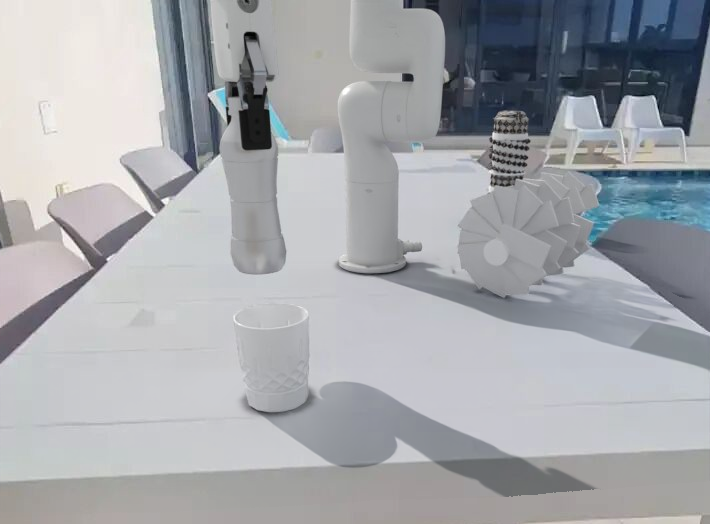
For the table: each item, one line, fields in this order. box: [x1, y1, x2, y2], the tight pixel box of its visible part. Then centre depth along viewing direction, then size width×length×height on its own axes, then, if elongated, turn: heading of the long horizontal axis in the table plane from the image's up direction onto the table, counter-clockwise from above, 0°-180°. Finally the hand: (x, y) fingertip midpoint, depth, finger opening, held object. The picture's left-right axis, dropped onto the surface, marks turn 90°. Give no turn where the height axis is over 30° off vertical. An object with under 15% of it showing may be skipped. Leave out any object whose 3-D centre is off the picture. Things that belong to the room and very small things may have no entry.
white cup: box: [232, 302, 310, 413], centre depth 69 cm, size 8×8×10 cm
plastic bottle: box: [218, 97, 287, 276], centre depth 74 cm, size 6×7×20 cm
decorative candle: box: [487, 110, 531, 194], centre depth 147 cm, size 9×9×25 cm
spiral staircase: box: [457, 170, 601, 299], centre depth 107 cm, size 18×18×25 cm
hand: (249, 144), depth 72 cm, fingers closed on plastic bottle, 6 cm apart
